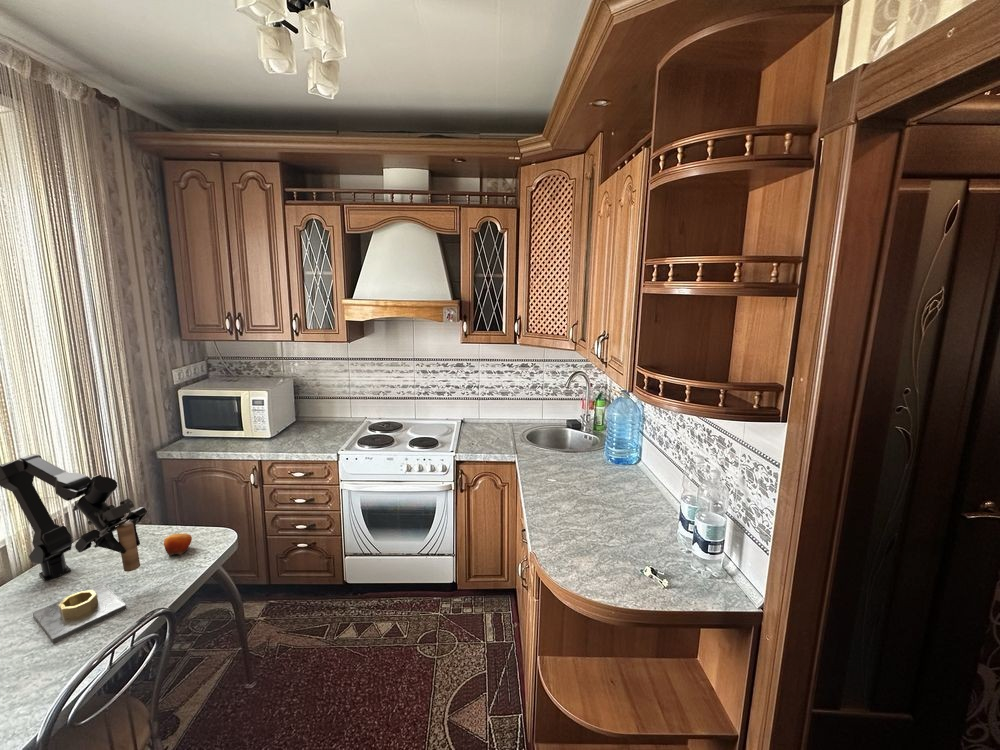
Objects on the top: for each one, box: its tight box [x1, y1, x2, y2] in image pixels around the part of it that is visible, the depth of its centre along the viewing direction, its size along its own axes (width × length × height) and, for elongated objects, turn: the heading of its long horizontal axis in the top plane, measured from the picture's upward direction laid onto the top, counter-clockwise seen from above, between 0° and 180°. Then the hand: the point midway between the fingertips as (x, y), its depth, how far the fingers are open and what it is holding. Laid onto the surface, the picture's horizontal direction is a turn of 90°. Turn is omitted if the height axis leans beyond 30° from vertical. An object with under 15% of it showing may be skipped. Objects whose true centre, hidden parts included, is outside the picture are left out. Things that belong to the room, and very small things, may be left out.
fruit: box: [163, 533, 193, 557], centre depth 165 cm, size 8×8×8 cm
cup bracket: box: [32, 582, 127, 645], centre depth 135 cm, size 18×16×4 cm
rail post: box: [116, 522, 141, 573], centre depth 144 cm, size 4×4×14 cm
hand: (132, 548), depth 144 cm, fingers closed on rail post, 4 cm apart
